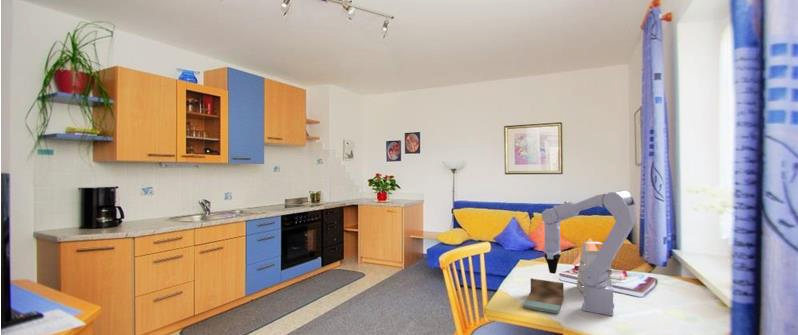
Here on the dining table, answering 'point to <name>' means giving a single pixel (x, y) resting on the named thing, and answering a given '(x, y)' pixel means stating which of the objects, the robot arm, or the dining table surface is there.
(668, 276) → the dining table surface
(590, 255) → the grater
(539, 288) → the cart bed
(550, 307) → the panel
